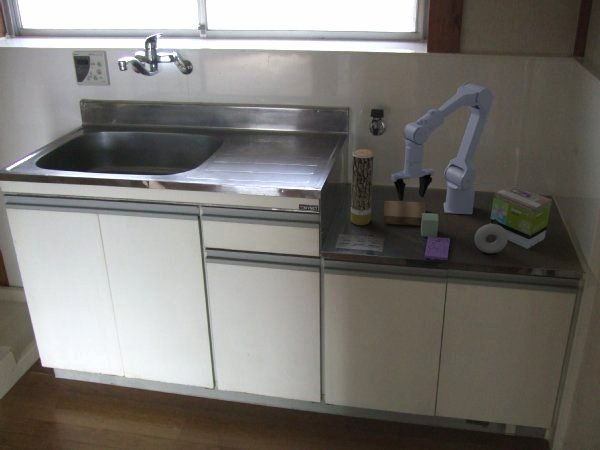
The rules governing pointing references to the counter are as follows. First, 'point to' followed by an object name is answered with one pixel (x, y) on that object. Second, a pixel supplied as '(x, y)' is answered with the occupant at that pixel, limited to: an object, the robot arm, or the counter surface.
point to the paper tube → (361, 186)
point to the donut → (491, 230)
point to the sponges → (437, 248)
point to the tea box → (521, 215)
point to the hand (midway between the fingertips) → (411, 197)
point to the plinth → (403, 212)
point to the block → (429, 225)
